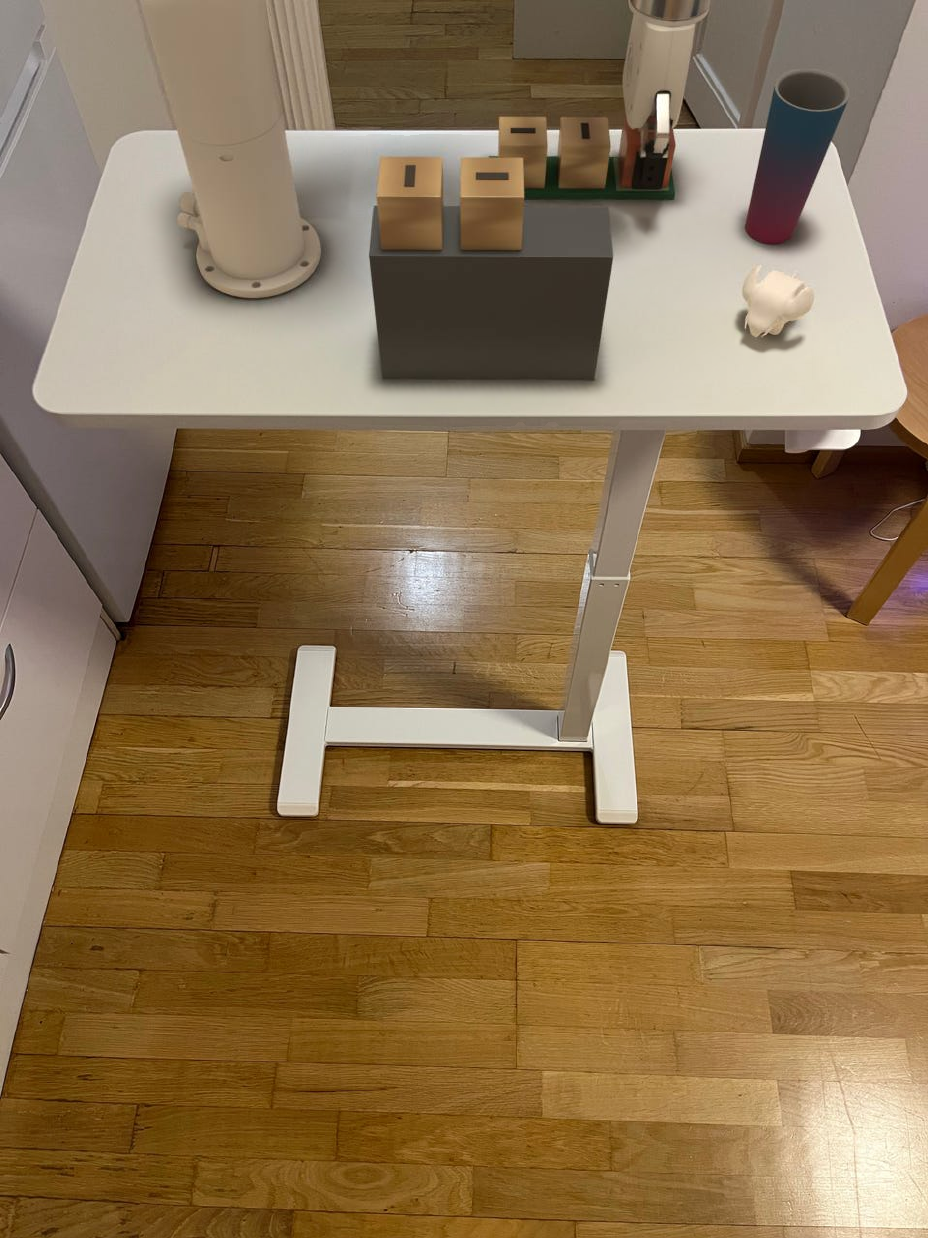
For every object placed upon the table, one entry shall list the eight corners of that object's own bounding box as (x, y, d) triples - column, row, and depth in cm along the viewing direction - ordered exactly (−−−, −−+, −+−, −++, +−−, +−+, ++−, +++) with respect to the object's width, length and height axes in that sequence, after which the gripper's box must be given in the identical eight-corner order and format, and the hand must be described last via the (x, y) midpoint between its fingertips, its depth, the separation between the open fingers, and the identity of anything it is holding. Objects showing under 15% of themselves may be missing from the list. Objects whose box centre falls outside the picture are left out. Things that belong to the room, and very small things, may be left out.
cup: (801, 253, 100) (849, 114, 87) (734, 245, 101) (773, 106, 88) (802, 211, 104) (850, 72, 91) (738, 203, 104) (776, 64, 91)
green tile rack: (488, 198, 105) (489, 148, 100) (488, 162, 108) (489, 111, 103) (674, 199, 105) (684, 149, 100) (668, 162, 108) (678, 112, 103)
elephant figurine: (716, 333, 94) (730, 284, 89) (755, 288, 98) (771, 238, 93) (779, 363, 92) (797, 315, 87) (816, 315, 96) (836, 266, 91)
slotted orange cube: (620, 187, 104) (627, 143, 100) (617, 158, 107) (624, 114, 103) (667, 188, 104) (676, 143, 100) (663, 159, 107) (671, 114, 103)
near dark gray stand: (382, 378, 92) (362, 200, 75) (385, 330, 95) (368, 149, 78) (594, 380, 91) (621, 202, 75) (590, 331, 95) (616, 150, 78)
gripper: (624, -60, 94) (602, 110, 109) (637, 40, 85) (612, 210, 100) (702, -60, 94) (669, 111, 109) (723, 41, 85) (685, 211, 100)
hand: (642, 158), depth 104 cm, fingers open, 9 cm apart
